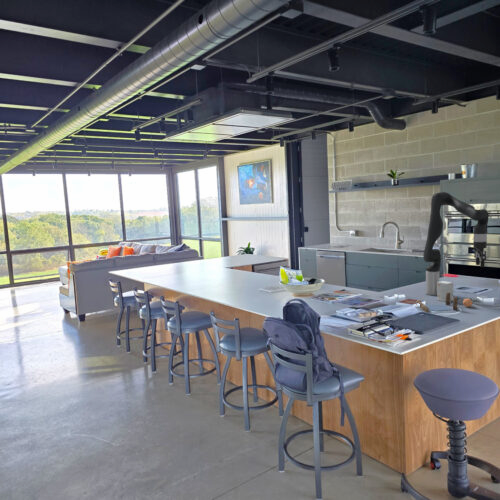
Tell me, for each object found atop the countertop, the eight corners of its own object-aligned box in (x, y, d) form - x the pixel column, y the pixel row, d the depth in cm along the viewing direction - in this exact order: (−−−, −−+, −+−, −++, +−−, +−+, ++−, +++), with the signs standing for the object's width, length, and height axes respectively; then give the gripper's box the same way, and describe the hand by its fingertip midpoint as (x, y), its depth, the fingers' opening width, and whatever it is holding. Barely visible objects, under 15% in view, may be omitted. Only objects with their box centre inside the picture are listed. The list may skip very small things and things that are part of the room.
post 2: (452, 309, 275) (452, 297, 274) (456, 309, 275) (456, 297, 274) (453, 310, 273) (454, 298, 272) (458, 310, 273) (458, 298, 272)
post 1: (445, 304, 288) (445, 292, 287) (449, 304, 288) (449, 292, 287) (446, 305, 285) (446, 293, 284) (450, 305, 285) (450, 293, 284)
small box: (453, 301, 295) (453, 282, 294) (447, 302, 292) (447, 283, 291) (442, 298, 302) (443, 280, 301) (436, 300, 299) (437, 281, 298)
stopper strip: (416, 304, 292) (416, 300, 292) (419, 304, 292) (419, 300, 291) (425, 312, 272) (425, 308, 272) (428, 312, 272) (428, 308, 272)
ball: (461, 305, 282) (461, 297, 282) (470, 305, 282) (470, 297, 281) (464, 308, 277) (464, 299, 276) (473, 307, 276) (473, 299, 276)
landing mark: (423, 305, 288) (423, 304, 288) (443, 304, 287) (443, 304, 287) (430, 310, 275) (430, 310, 275) (451, 310, 274) (451, 309, 274)
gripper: (470, 240, 283) (470, 264, 284) (477, 242, 269) (477, 267, 270) (482, 239, 281) (482, 264, 283) (490, 241, 267) (490, 267, 269)
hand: (480, 265), depth 277 cm, fingers open, 8 cm apart
